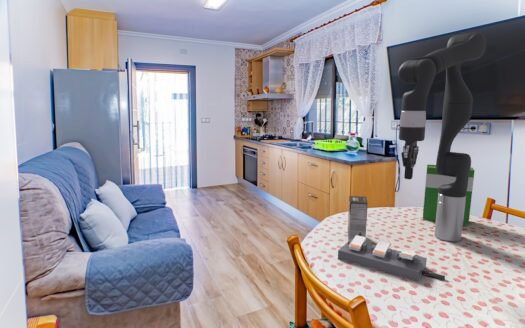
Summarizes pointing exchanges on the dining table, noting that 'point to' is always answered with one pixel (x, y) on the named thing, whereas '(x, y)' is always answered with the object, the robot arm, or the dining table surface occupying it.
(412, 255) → the rocker
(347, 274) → the dining table surface
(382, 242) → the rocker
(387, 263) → the power strip
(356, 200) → the coffee box
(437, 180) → the hardback book
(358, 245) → the block
